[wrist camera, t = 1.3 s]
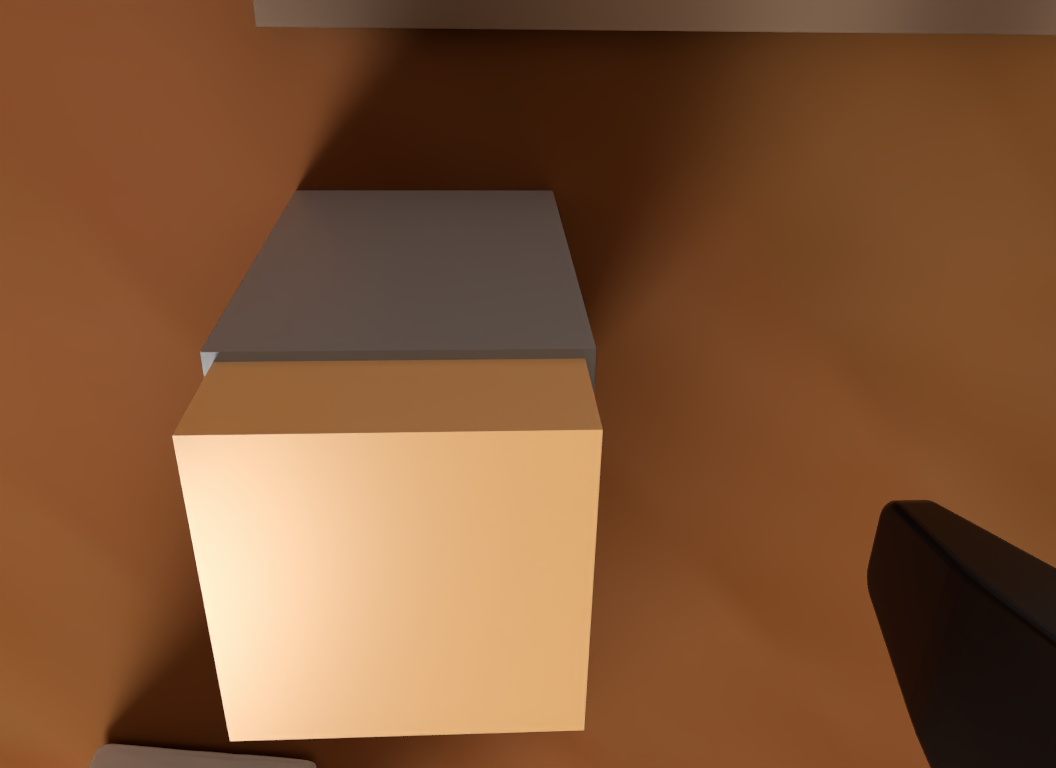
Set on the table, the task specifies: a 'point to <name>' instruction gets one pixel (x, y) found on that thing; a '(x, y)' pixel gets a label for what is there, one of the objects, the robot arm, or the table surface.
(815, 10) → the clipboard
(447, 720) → the lidded cardboard box
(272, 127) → the table surface
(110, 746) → the skincare box
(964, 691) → the robot arm
